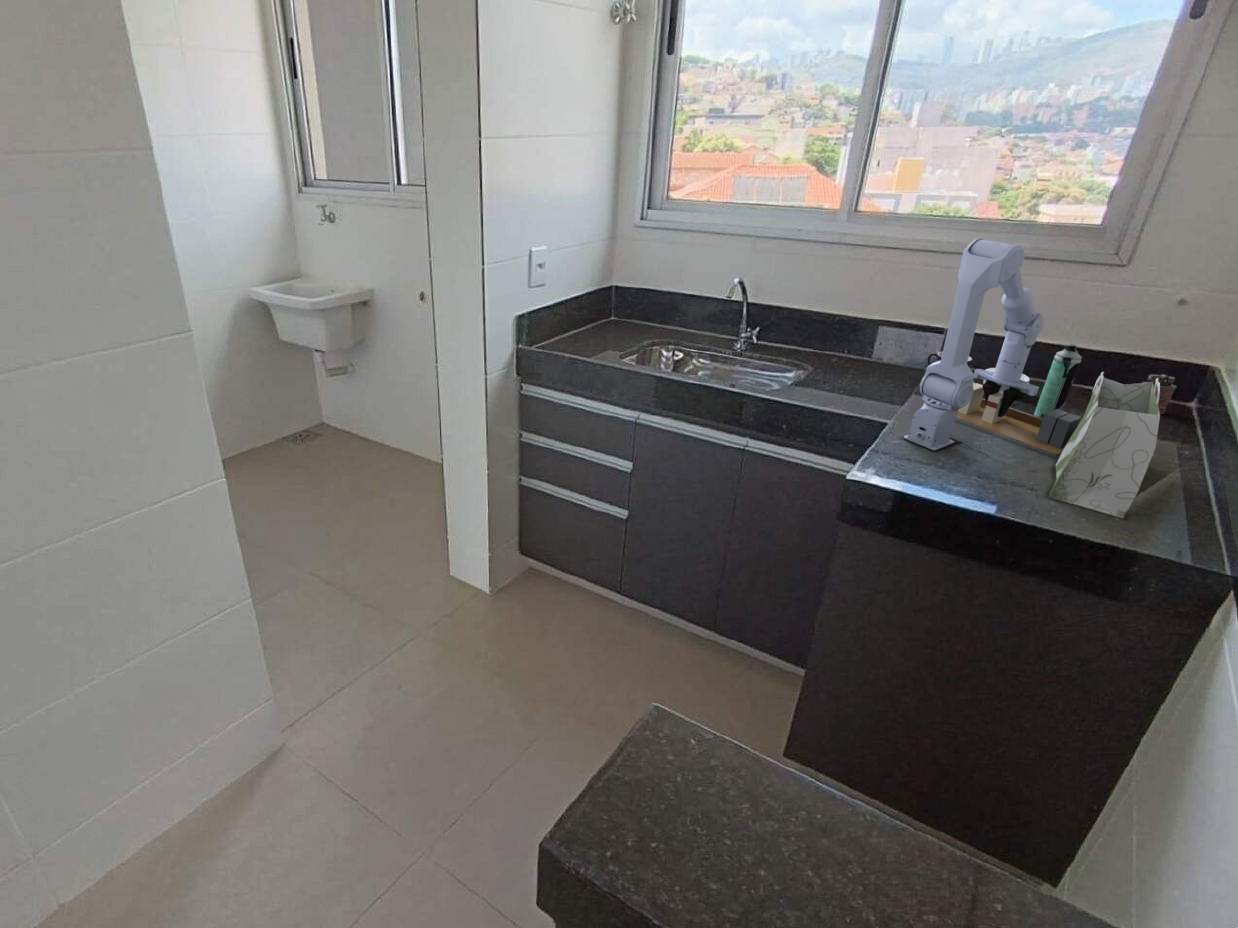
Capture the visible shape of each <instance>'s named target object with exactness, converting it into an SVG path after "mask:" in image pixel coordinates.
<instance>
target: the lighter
mask: <svg viewBox="0 0 1238 928" xmlns="http://www.w3.org/2000/svg"><path fill="white" fill-rule="evenodd" d="M1157 378H1159V383H1160V393H1159V402H1158V408H1159V413H1160V415H1161V414H1162V415H1163V414H1166V411H1167V407H1168V404H1169V403H1170V400H1171V398H1172V396H1173V394H1174V392H1175V391H1176V389H1177V385H1175V384H1173V383H1174V381H1175V379H1176V378H1175V377H1174V376H1168V375H1166V374H1149V375H1148V377H1147V380H1148V381H1142V383H1152V382H1153V387H1154V389H1155V384H1156V381H1155V380H1156V379H1157ZM1157 396H1158V386H1157V388H1156V398H1157Z"/></svg>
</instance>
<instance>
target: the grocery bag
mask: <svg viewBox="0 0 1238 928" xmlns="http://www.w3.org/2000/svg"><path fill="white" fill-rule="evenodd" d="M1104 374H1105V371H1102V372H1101V373H1100V375H1098V378H1097V379H1096V381H1095V384H1094V387H1093V388H1092V393H1091V397H1090V400H1089V402H1088V404H1087V407H1086V410H1085V411H1084V414H1083V416H1082V419H1081V421H1080V423H1079V425H1078V426H1077V428H1076V430H1075V431H1074V433H1073V434H1072V436H1071V438H1070V439H1069V441H1068V442H1067V444H1066V446H1065V448H1064V450H1063V452H1062V453H1060V455H1059V458H1058V459H1057V462H1056V464H1055V476H1056V478H1055V477H1054V484H1053V486H1052V488H1051V491H1050V492H1049V495H1048V496H1047V499H1052V500H1056V501H1060V502H1064V503H1067V504H1072V505H1075V506H1079V507H1083V508H1086V509H1090V510H1094V511H1097V512H1100V513H1103V514H1107V515H1109V516H1114V517H1118V518H1119V519H1123V520H1124V518H1125V517H1126V514H1127V512H1129V509H1130V507H1131V505H1132V503H1133V502H1134V500H1135V498H1136V496H1137V494H1138V493H1139V490H1140V488H1141V486H1142V483H1143V481H1144V478H1145V476H1146V473H1147V471H1148V468H1149V465H1150V464H1151V461H1152V458H1153V456H1154V453H1155V451H1156V448H1157V442H1158V433H1159V428H1160V427H1159V426H1160V421H1161V420H1160V419H1161V414H1160V413H1159V408H1158V402H1159V393H1160V383H1159V378H1157V379H1156V380H1155V381H1156V384H1155V389H1154V387H1153V382H1152V381H1151V382H1152V383H1143V382H1140V383H1129V384H1128V383H1127V384H1124V383H1120V382H1118V381H1115V380H1112V379H1109V378H1106V377H1105V376H1104ZM1157 386H1158V396H1157V398H1156V388H1157Z"/></svg>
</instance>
